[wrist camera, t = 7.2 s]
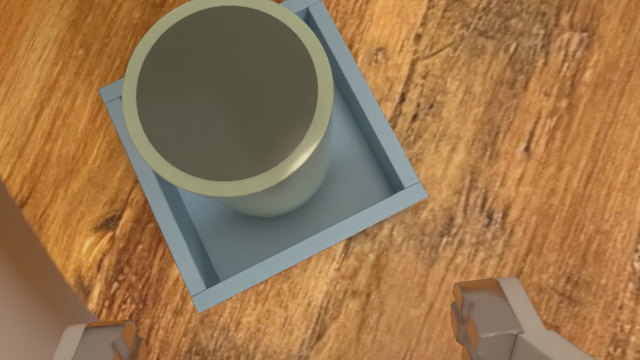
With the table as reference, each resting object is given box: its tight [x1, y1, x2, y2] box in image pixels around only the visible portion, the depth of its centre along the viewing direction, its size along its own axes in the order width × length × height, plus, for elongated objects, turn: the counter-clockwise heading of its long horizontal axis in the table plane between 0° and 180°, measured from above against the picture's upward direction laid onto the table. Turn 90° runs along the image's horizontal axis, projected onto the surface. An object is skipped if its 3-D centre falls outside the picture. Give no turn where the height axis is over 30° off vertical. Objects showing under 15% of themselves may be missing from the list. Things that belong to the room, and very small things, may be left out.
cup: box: [122, 0, 334, 219], centre depth 20 cm, size 7×7×10 cm
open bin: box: [98, 0, 428, 313], centre depth 24 cm, size 12×12×4 cm
